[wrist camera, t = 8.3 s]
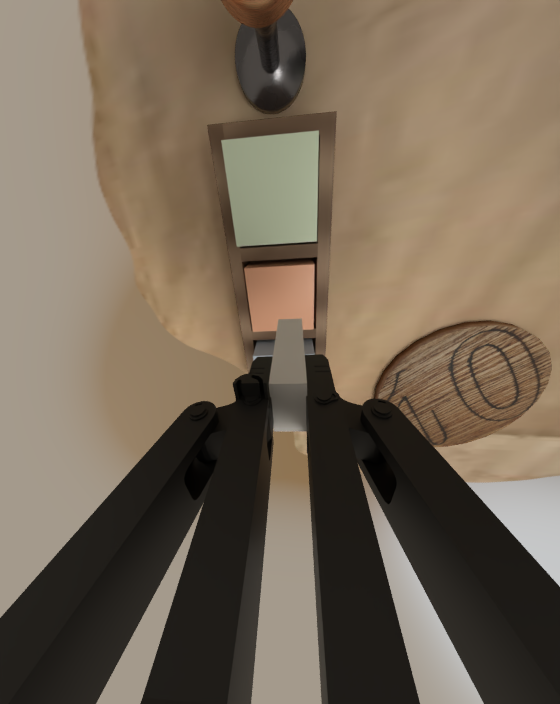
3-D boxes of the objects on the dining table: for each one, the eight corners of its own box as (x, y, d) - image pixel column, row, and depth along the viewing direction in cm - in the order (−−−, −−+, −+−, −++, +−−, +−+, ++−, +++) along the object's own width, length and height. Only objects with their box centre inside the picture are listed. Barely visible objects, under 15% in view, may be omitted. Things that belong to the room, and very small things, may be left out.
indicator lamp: (232, 16, 18) (151, -263, 8) (304, 6, 18) (324, -303, 7) (242, 117, 22) (195, 15, 11) (305, 110, 21) (320, -2, 10)
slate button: (257, 339, 28) (252, 356, 25) (311, 337, 28) (314, 354, 24) (262, 382, 32) (259, 402, 28) (311, 381, 31) (313, 400, 28)
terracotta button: (250, 261, 25) (244, 268, 22) (311, 258, 25) (314, 264, 21) (257, 318, 29) (252, 331, 25) (310, 316, 28) (313, 329, 25)
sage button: (233, 154, 19) (221, 140, 16) (313, 147, 19) (318, 130, 15) (245, 242, 23) (236, 246, 19) (312, 238, 22) (316, 241, 19)
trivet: (414, 454, 46) (419, 463, 45) (344, 383, 38) (347, 391, 36) (558, 394, 37) (570, 402, 35) (508, 281, 28) (521, 285, 27)
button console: (226, 146, 23) (207, 125, 17) (325, 137, 22) (336, 111, 17) (257, 371, 37) (252, 396, 32) (318, 369, 36) (323, 394, 31)
